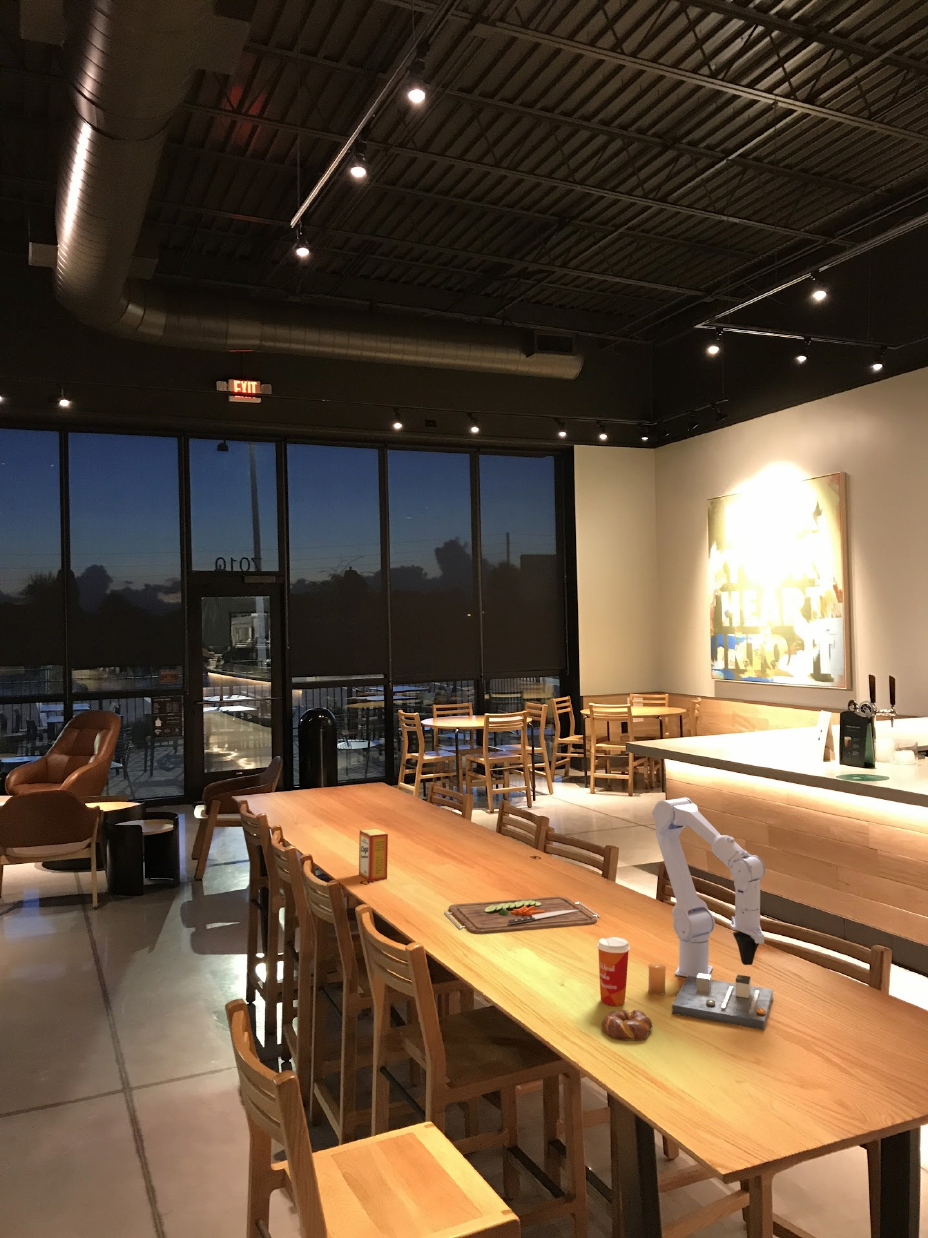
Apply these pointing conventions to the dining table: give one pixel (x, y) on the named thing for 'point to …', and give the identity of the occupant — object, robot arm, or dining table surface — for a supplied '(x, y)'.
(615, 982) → the paper cup
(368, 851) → the baking soda box
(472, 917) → the chopping board
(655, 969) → the cap
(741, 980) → the lever
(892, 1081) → the dining table surface
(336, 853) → the dining table surface
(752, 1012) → the panel
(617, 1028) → the pretzel
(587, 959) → the dining table surface
